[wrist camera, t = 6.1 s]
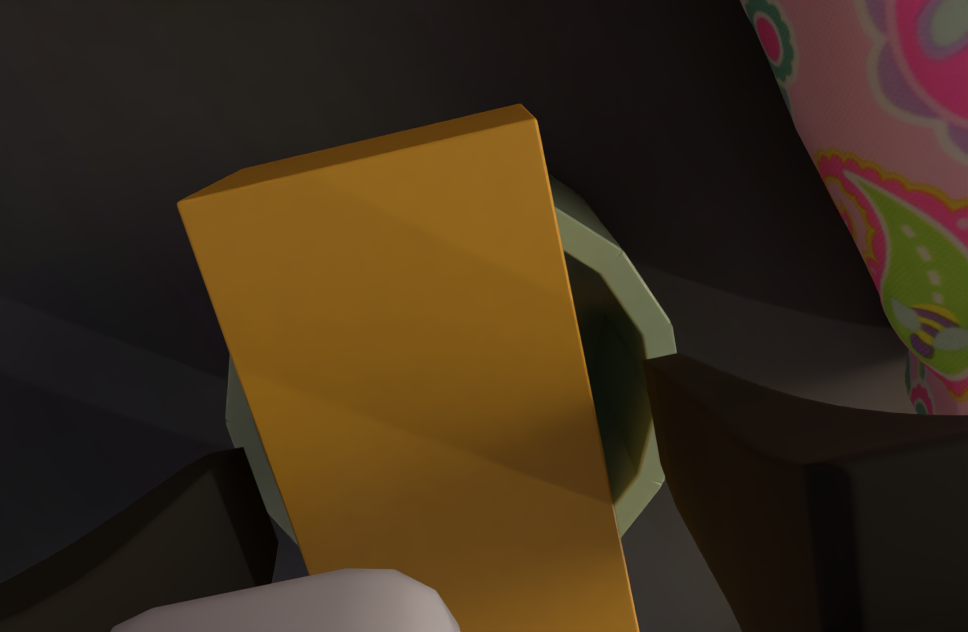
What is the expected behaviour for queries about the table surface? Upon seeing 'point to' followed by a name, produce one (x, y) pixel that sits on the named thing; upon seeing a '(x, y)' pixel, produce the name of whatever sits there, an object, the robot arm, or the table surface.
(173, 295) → the table surface
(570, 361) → the block
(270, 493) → the cup
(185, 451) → the table surface
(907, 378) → the pencil case
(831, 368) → the table surface
